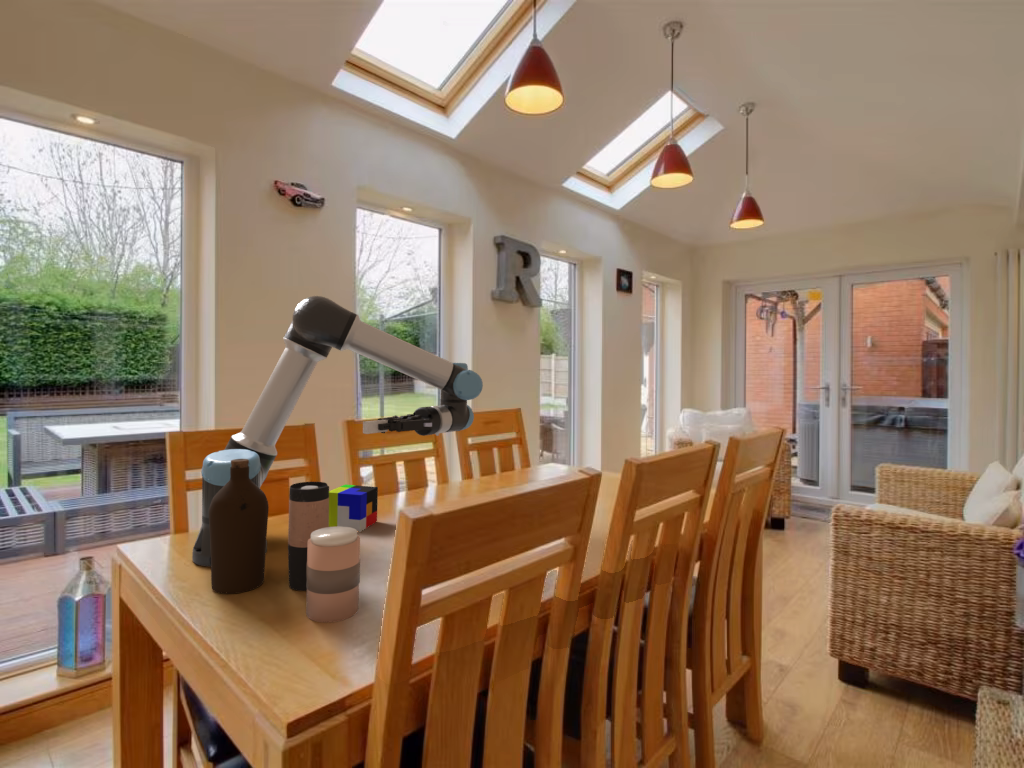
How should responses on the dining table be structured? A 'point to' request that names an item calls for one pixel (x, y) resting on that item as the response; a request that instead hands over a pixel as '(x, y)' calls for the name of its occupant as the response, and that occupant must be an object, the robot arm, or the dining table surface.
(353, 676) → the dining table surface
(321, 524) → the travel mug
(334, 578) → the terracotta canister
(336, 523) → the puzzle toy
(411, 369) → the robot arm
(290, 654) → the dining table surface
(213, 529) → the olive oil
